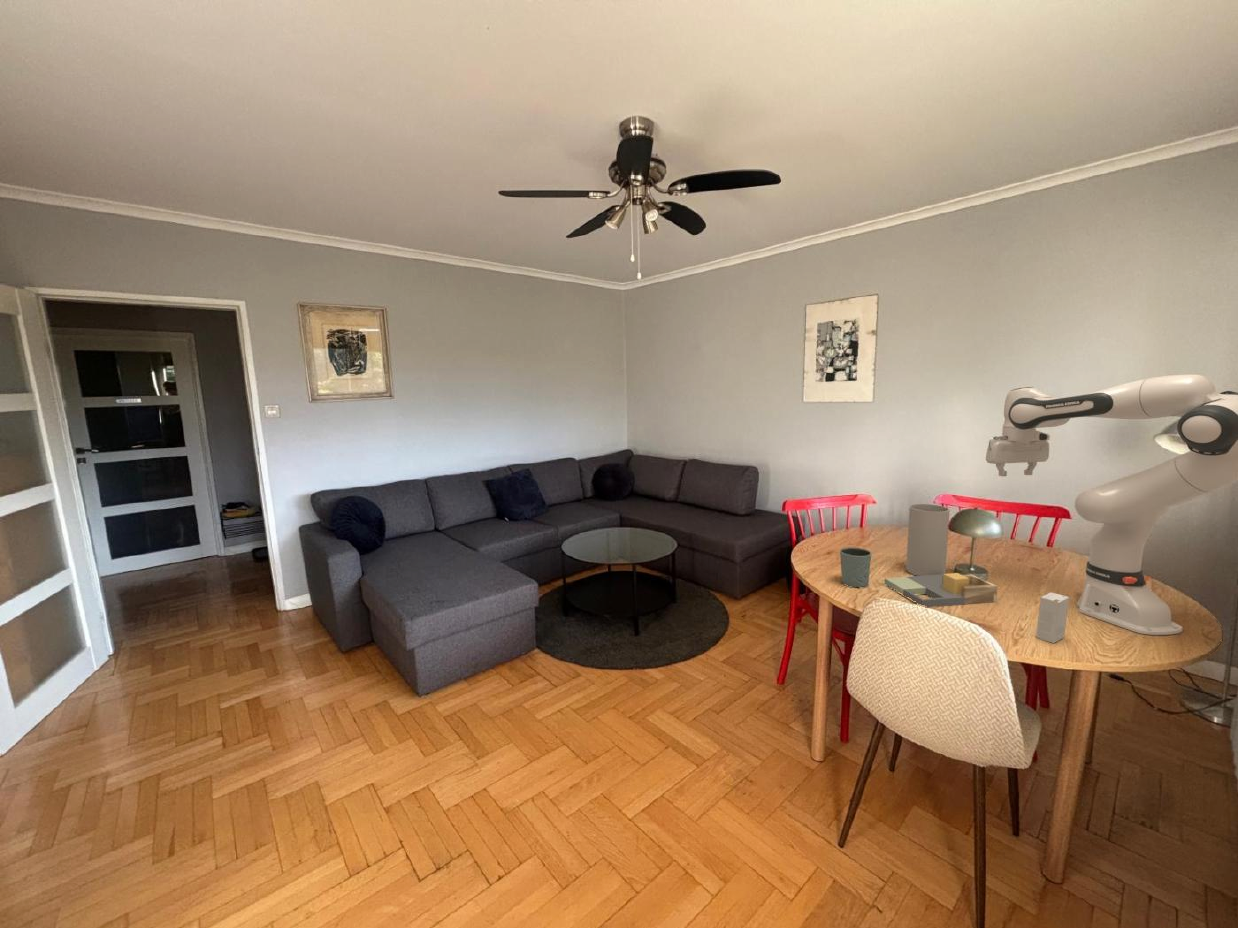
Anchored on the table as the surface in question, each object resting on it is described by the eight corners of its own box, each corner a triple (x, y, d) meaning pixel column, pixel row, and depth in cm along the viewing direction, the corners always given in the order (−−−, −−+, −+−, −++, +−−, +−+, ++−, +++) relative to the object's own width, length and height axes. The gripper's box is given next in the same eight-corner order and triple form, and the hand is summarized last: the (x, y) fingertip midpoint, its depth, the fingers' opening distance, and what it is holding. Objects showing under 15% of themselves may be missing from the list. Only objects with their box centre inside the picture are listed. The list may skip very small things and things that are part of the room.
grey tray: (996, 601, 159) (996, 594, 159) (921, 607, 157) (922, 600, 156) (951, 579, 178) (951, 573, 177) (884, 584, 175) (884, 578, 175)
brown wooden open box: (996, 601, 159) (997, 586, 158) (964, 604, 158) (965, 588, 157) (970, 589, 169) (971, 574, 169) (940, 591, 168) (941, 576, 168)
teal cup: (873, 589, 172) (875, 556, 170) (842, 588, 174) (843, 555, 172) (865, 578, 181) (866, 547, 180) (836, 577, 183) (837, 546, 182)
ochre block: (968, 593, 161) (969, 578, 160) (954, 594, 160) (955, 579, 160) (956, 587, 166) (957, 572, 165) (942, 588, 165) (943, 573, 164)
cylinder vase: (906, 565, 194) (909, 502, 190) (944, 569, 188) (948, 505, 184) (906, 575, 183) (909, 510, 179) (946, 581, 177) (950, 513, 173)
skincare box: (1045, 631, 139) (1049, 591, 138) (1065, 638, 135) (1070, 596, 134) (1034, 637, 136) (1038, 596, 135) (1055, 644, 133) (1059, 601, 131)
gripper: (997, 437, 164) (994, 478, 166) (1054, 435, 166) (1051, 475, 168) (982, 436, 171) (979, 475, 173) (1037, 433, 172) (1034, 472, 174)
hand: (1015, 475), depth 170 cm, fingers open, 8 cm apart
